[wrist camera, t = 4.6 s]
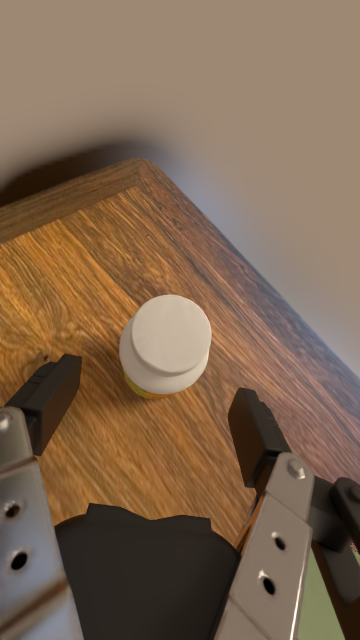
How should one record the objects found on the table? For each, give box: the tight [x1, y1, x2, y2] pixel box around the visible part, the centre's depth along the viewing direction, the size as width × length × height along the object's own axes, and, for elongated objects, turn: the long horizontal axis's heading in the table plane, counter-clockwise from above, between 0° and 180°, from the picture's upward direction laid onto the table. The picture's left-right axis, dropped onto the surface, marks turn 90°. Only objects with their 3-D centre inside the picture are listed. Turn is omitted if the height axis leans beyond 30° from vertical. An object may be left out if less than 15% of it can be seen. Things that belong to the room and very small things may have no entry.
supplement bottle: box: [119, 295, 211, 399], centre depth 16 cm, size 5×5×10 cm
